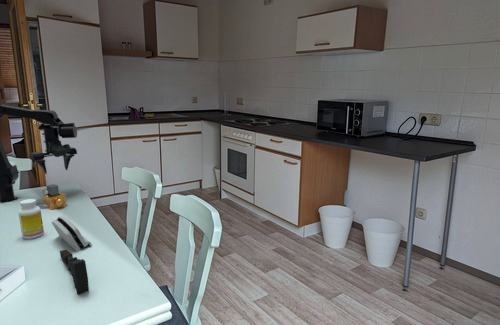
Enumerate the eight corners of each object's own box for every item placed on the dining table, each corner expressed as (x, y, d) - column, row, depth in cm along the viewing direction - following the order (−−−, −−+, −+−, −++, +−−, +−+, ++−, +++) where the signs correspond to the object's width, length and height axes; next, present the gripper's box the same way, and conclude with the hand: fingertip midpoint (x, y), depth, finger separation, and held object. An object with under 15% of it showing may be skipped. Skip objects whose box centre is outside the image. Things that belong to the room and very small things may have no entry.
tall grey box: (48, 203, 154) (46, 185, 152) (56, 201, 156) (53, 184, 155) (53, 205, 152) (50, 187, 150) (60, 203, 154) (57, 185, 152)
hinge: (92, 246, 117) (79, 222, 112) (79, 255, 114) (64, 231, 110) (74, 231, 128) (60, 209, 124) (61, 239, 126) (47, 217, 121)
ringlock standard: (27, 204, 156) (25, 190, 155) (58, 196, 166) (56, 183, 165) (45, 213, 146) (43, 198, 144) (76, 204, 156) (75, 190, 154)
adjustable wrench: (71, 271, 111) (90, 292, 91) (62, 274, 110) (78, 296, 89) (67, 245, 111) (85, 260, 90) (57, 247, 109) (73, 264, 89)
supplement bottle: (46, 235, 125) (41, 200, 122) (25, 241, 121) (19, 205, 118) (40, 230, 130) (35, 196, 127) (19, 235, 125) (14, 201, 122)
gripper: (37, 143, 149) (42, 179, 152) (80, 137, 163) (84, 170, 166) (26, 140, 155) (31, 174, 159) (69, 135, 170) (73, 166, 173)
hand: (56, 171), depth 164 cm, fingers open, 9 cm apart
